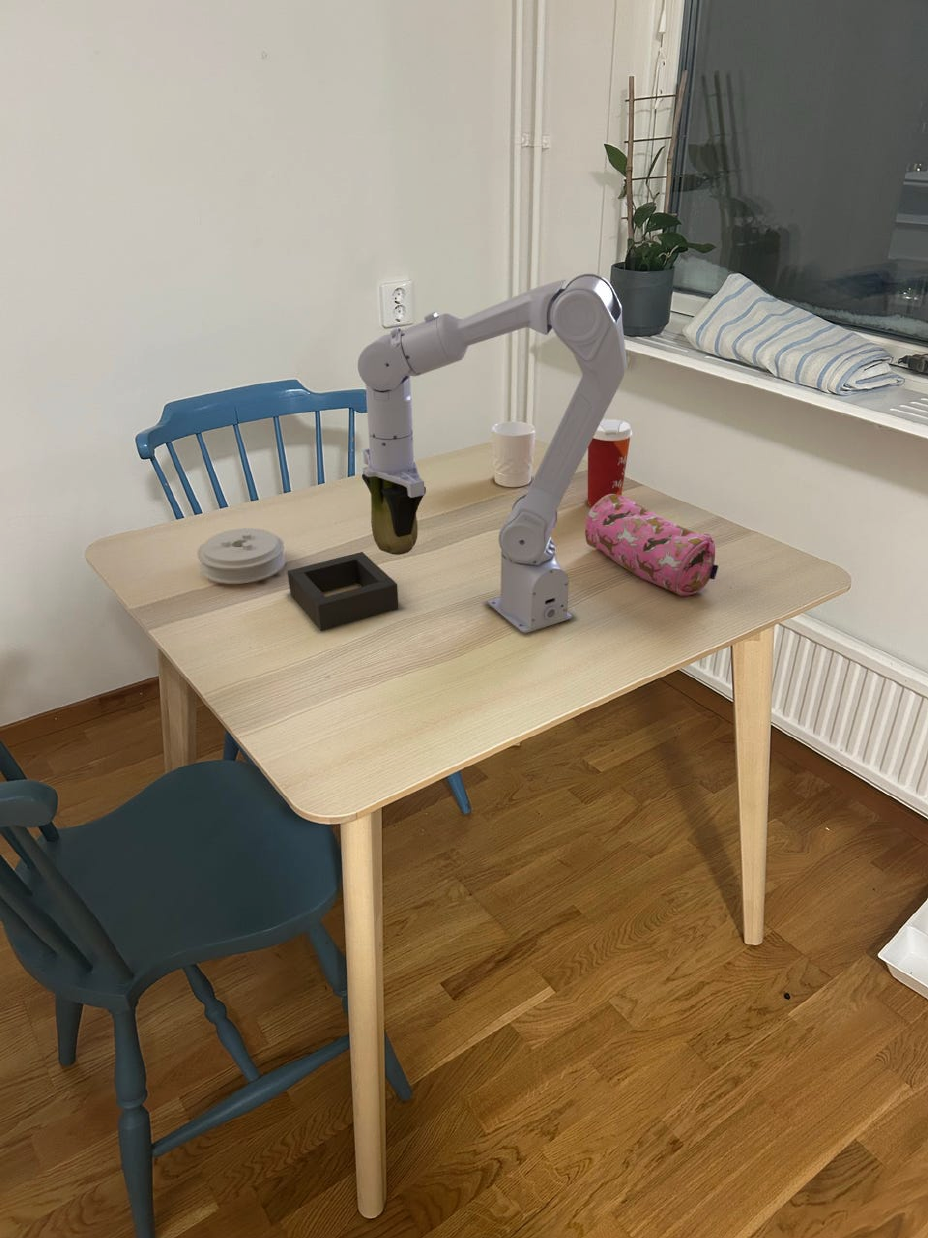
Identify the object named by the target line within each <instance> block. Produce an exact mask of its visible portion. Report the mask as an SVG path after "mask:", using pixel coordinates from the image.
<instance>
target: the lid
mask: <svg viewBox="0 0 928 1238" xmlns="http://www.w3.org/2000/svg"><path fill="white" fill-rule="evenodd" d="M284 549H285V542H284V541H283V539H282V538H281V537H280V536H278V535H277V534H274V533H272V532H271V531H269V530H267V529H266V530H265V529H261V528H253V527H245V528H235V529H229V530H225V531H222V532H219V533H217V534H214V535H212V536H211V537H209V538H208V539H206V540H205V541H204V543H202V544H201V545H200V546H199V547H198V549H197V552H196V553H197V559H198V560H199V562H200V565H199V571H200V573H201V575H202V576H203V577H204V578H206V579H207V580H210V581H213V582H216V583H219V584H231V585H237V584H240V585H241V584H247V583H253V582H258V581H261V580H265V579H267V578H270V577H272V576H274V575H275V574H277V573H278V572H280V571H281V570H282V569H283V568H284V567H285V565H286V562H287V559H286V555H285V554H284Z"/></svg>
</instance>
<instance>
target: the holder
mask: <svg viewBox="0 0 928 1238" xmlns="http://www.w3.org/2000/svg"><path fill="white" fill-rule="evenodd" d="M287 579H288V586H289V594H290V597H291V598H292V599H293V600H294V601H295V602H296V603H297V605H298V606H299V607H300V608H301V610H303V612H304V613H305V614H306V616H308V618H309V619H310V620H311V621H312V622H313V623H314V625H315V626H316V627H317V628H318V629H319V630H320V632H323V631H326V630H330V629H333V628H337V627H341V626H344V625H347V624H351V623H354V622H359V621H361V620H365V619H369V618H371V617H375V616H379V615H383V614H385V613H390V612H393V611H396V610H399V593H398V592H399V591H398V583H397V582H396V581H395V580H394V579H392V578H391V577H390V576H389V575H388V574H387V573H386V572H385V571H384V570H383V569H381V568H380V567H379V566H378V565H377V563H375V562H374V561H373V560H372V559H371V558H370V557H368V555H367V554H365V553H364V552H363V551H360V552H356V553H353V554H349V555H344V556H341V557H336V558H332V559H328V560H323V561H320V562H316V563H312V564H309V565H304V566H301V567H300V566H299V567H297V568H293V569H288V570H287ZM353 585H359V587H356V588H353V589H349V590H344V591H341V592H337V593H334V594H330V595H325V594H324V593H328V592H332V591H335V590H338V589H342V588H346V587H349V586H353Z"/></svg>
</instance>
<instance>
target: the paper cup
mask: <svg viewBox="0 0 928 1238" xmlns="http://www.w3.org/2000/svg"><path fill="white" fill-rule="evenodd" d="M633 434H634V433H633V431H632V427H631V425H630V424H629V423H628V422H626V421H624V420H619V419H613V418H612V419H611V418H603V419H602V421H601V423H600V425H599V427H598V429H597V431H596V433H595V435H594V437H593V439H592V441H591V442H590V444H589V446H588V448H587V504H588V505H589V506H590V507H591V508H592V507H593V506H594V505H595V504H596V503H597V502H598V501H599V500H600V499H601V498H603V497H605V496H606V495H609V494H617V495H619V496H623V495H622V494H623V488H624V483H625V482H624V481H625V476H626V471H627V469H626V468H627V461H628V457H629V450H630V443H631V437H632V436H633Z"/></svg>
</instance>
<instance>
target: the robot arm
mask: <svg viewBox="0 0 928 1238" xmlns="http://www.w3.org/2000/svg"><path fill="white" fill-rule="evenodd" d="M567 281H568V279H566V278H565V279H560V280H557V281H554V282H550V283H546V284H544V285H540V286H538V287H535V288H532V289H528V290H527V291H524V292H522V293H519V294H518V295H515V296H513V297H510V298H507V299H506V300H503V301H501V302H498V303H496V304H494V305H491V306H489V307H487V308H484V309H482V310H479V311H477V312H475V313H473V314H471V315H468V316H466V317H464V318H460V317H456V316H454V315H452V314H450V313H447V312H445V313H442V314H440V315H439V314H438V312H437V311H433V312H430V313H427V314H426V315H425V316H424V317H423V318H424V321H421V322H419V323H417V324H414V325H411V326H409V327H406V328H404V329H401V327H400V326H397V327H395V328H393V329H391V330H390V333H387V334H383V335H381V336H380V337H378V338H377V339H376V340H374V341H373V342H372V343H370V344H368V345H367V346H366V347H365V348H364V349H363V350H362V351H361V352H360V354H359V356H358V360H357V372H358V374H359V377H360V378H361V380H362V382H363V383H364V384H365V393H366V413H367V415H366V416H367V430H368V431H367V432H368V446H369V447H368V448H366V449H365V448H364V449H363V450H362V453H363V455H362V457H363V463H364V464H365V465H366V466H364V467H363V468H362V474H361V478H362V481H363V482H364V483H365V485H366V487H367V489H368V491H369V493H370V494H371V489H370V480H369V477H373V476H376V477H379V483H380V491H381V499H382V498H383V495H384V497H385V499H386V501H387V503H388V506H389V508H390V512H391V517H392V523H393V528H394V532H395V535H396V536H397V537H401V536H406V535H410V534H411V532H412V528H413V524H414V519H415V515H416V516H417V512H418V508H419V506H420V504H421V502H422V499H423V498H424V496H425V495H426V493H427V488H426V486H425V480H424V479H422V478H421V476H420V473H419V470H418V467H417V464H416V462H415V458H414V457H415V456H414V454H415V453H414V431H413V429H414V428H413V408H412V407H413V406H412V405H413V403H412V392H411V389H412V388H411V377H420V376H421V375H425V374H427V373H429V372H432V371H435V370H438V369H440V368H443V367H446V366H449V365H452V364H454V363H457V362H460V361H462V360H463V359H464V358H465V356H466V353H467V351H468V347H469V346H472V345H475V344H479V343H481V342H485V341H487V340H491V339H494V338H497V337H501V336H503V335H506V334H510V333H512V332H515V331H519V330H522V329H525V328H527V329H531V330H533V331H535V332H537V333H539V334H542V335H544V336H548V335H549V333H551V331H552V330H553V332H554V334H555V335H556V337H557V338H558V339H559V340H560V342H561V343H563V344H564V345H565V346H566V348H567V349H568V350H569V351H570V352H571V353H572V354H573V356H574V358H575V360H576V362H577V365H578V368H579V369H580V372H581V374H582V375H581V377H580V380H579V382H578V384H577V386H576V388H575V391H574V393H573V394H572V396H571V399H570V401H569V403H568V405H567V407H566V410H565V411H564V414H563V415H562V418H561V420H560V421H559V424H558V426H557V429H556V430H555V433H554V434H553V437H552V439H551V441H550V443H549V445H548V447H547V450H546V451H545V453H544V455H543V458H542V460H541V462H540V463H539V466H538V468H537V470H536V473H535V474H534V477H533V479H532V480H531V484H530V485H529V488H528V489H527V491H526V492H525V493H523V494H522V495H520V496H519V497H518V498H517V499H516V500H515V502H514V503H513V505H512V508H511V511H510V514H509V515H508V518H507V520H506V521H505V523H504V524H503V525H502V527H501V528H500V530H499V533H498V545H499V548H500V551H501V552H500V556H501V557H500V596H499V597H496V598H493V599H490V600H488V601H487V604H488V606H490V607H491V608H492V609H494V610H495V611H496V612H497V613H498V614H499V615H501V616H502V617H503V618H504V619H506V620H507V621H508V622H509V623H510V624H512V625H513V626H514V627H515V628H516V629H518V630H519V631H520V632H521V633H523V634H527V633H531V632H535V631H537V630H539V629H543V628H545V627H549V626H552V625H555V624H558V623H562V622H565V621H568V620H571V619H572V618H573V614H571V613H570V612H569V611H568V602H569V601H568V600H569V587H570V586H569V585H570V584H569V583H570V581H569V577H568V574H567V573H566V571H565V570H564V569H563V568H562V567H561V566H560V564H559V562H558V560H557V556H556V546H555V544H554V541H553V539H552V537H551V535H552V532H553V529H554V528H555V527H556V524H557V522H558V509H559V507H560V504H561V502H562V499H563V498H564V496H565V494H566V492H567V491H568V488H569V486H570V484H571V483H572V480H573V479H574V476H575V474H576V472H577V471H578V468H579V467H580V465H581V462H582V460H583V458H584V457H585V455H586V452H587V451H588V446H589V444H590V442H591V441H592V439H593V437H594V435H595V433H596V431H597V429H598V427H599V425H600V423H601V421H602V420H603V419H604V417H605V414H606V413H607V411H608V409H609V407H610V405H611V403H612V401H613V399H614V397H615V396H616V393H617V391H618V389H619V387H620V386H621V385H620V384H621V383H622V381H623V379H624V377H625V374H626V371H627V365H628V362H627V353H626V345H625V344H626V343H625V335H624V334H625V333H624V325H623V307H622V304H621V303H620V300H619V298H618V296H617V294H616V292H615V290H614V288H613V286H612V285H611V283H610V282H609V280H607V279H606V278H605V277H603V276H601V275H599V274H596V273H590V272H589V273H583V274H580V275H577V276H575V277H574V278H573V279H571V280H570V281H569V282H568V283H567V284H566V282H567ZM564 284H566V286H565V287H564V288H563V286H564ZM383 479H385V480H388V481H391V482H393V487H390V488H386V489H383ZM394 483H396V487H394Z"/></svg>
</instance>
